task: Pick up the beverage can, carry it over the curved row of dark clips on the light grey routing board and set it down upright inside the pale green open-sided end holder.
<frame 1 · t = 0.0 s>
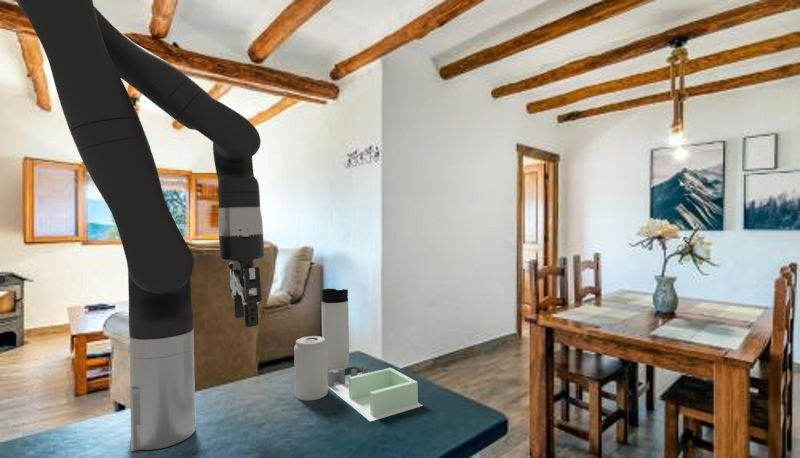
hand: (246, 321, 76), 17 cm above the table, tool pointing down, fingers open, 8 cm apart
routing board: (368, 398, 83), on the table
beverage can: (311, 400, 83), on the table
travel mug: (335, 372, 98), on the table
end holder: (382, 400, 79), resting on routing board
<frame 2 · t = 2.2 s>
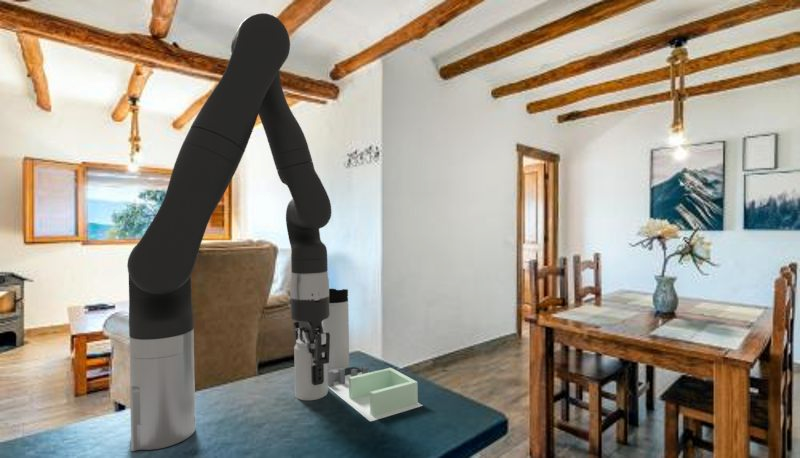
hand: (311, 378, 83), 4 cm above the table, tool pointing down, fingers open, 6 cm apart
beverage can: (311, 400, 83), on the table, touching gripper
everything else where it was.
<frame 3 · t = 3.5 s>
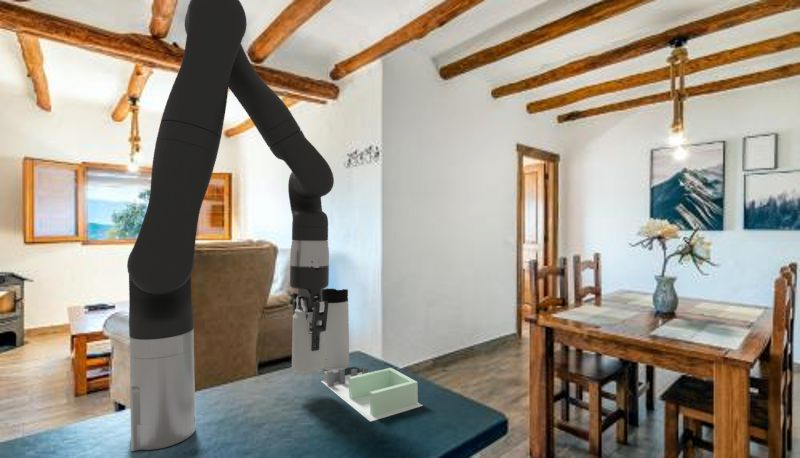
hand: (308, 348, 82), 10 cm above the table, tool pointing down, fingers closed on beverage can, 5 cm apart
beverage can: (308, 370, 82), point 6 cm above the table, touching gripper
everything else where it was.
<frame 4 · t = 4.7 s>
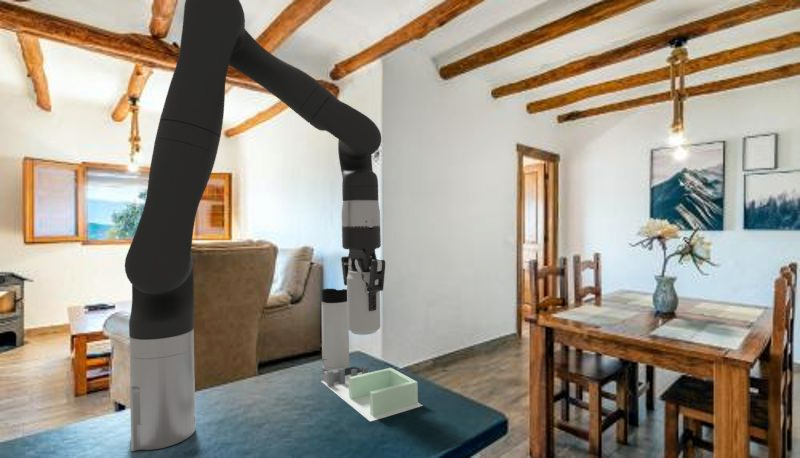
hand: (363, 310, 82), 18 cm above the table, tool pointing down, fingers closed on beverage can, 5 cm apart
beverage can: (364, 332, 81), point 14 cm above the table, touching gripper
everything else where it was.
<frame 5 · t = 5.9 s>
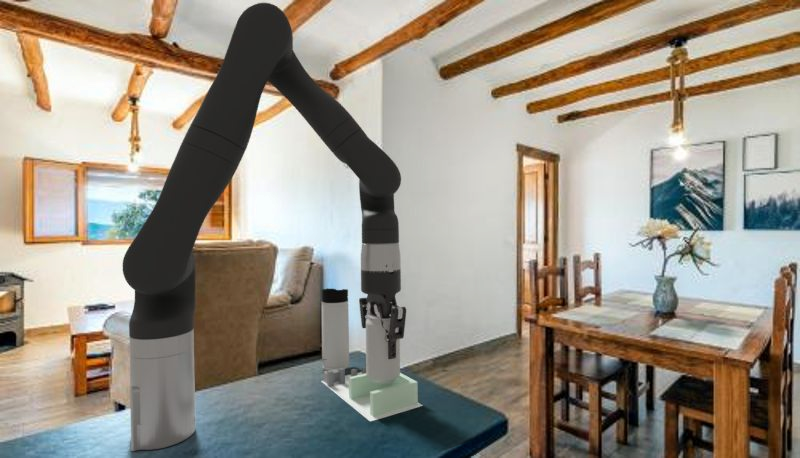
hand: (381, 356, 79), 10 cm above the table, tool pointing down, fingers closed on beverage can, 5 cm apart
beverage can: (383, 379, 78), point 5 cm above the table, touching gripper
everything else where it was.
when the fingers open (7 cm above the table, at t = 6.9 s): beverage can drops 1 cm, resting on routing board.
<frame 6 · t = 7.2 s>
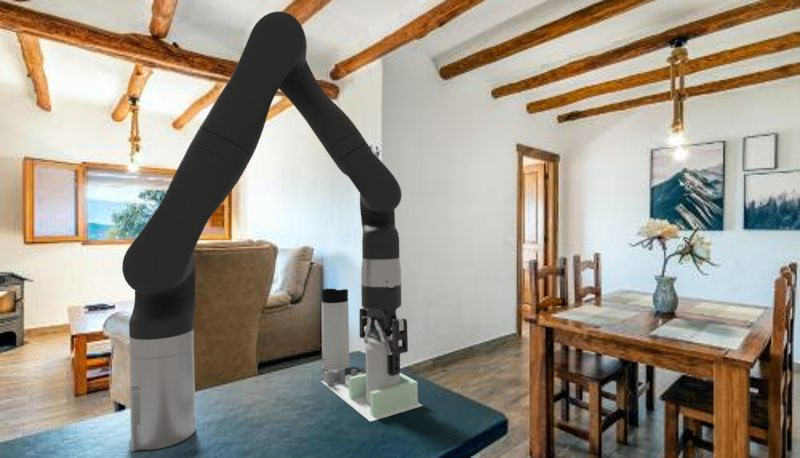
hand: (382, 368, 79), 7 cm above the table, tool pointing down, fingers open, 8 cm apart
beverage can: (383, 403, 78), point 1 cm above the table, touching routing board
everything else where it was.
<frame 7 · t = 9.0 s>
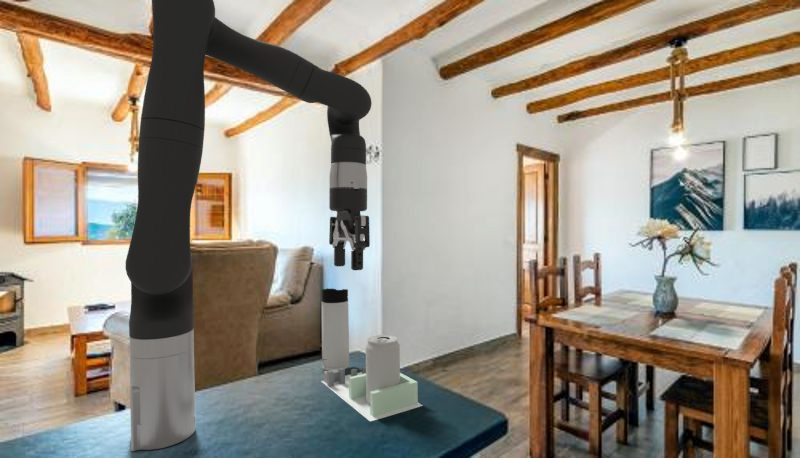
hand: (348, 268, 83), 26 cm above the table, tool pointing down, fingers open, 8 cm apart
nothing on the table moved.
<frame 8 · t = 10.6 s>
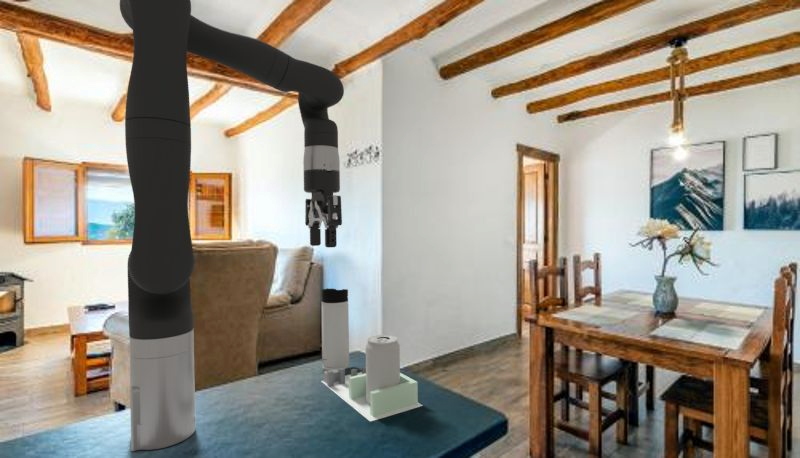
hand: (322, 246, 88), 30 cm above the table, tool pointing down, fingers open, 8 cm apart
nothing on the table moved.
at the end: beverage can 0.6 cm from the end holder (horizontally); beverage can tilted 0°; beverage can point 1.0 cm above the table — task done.
